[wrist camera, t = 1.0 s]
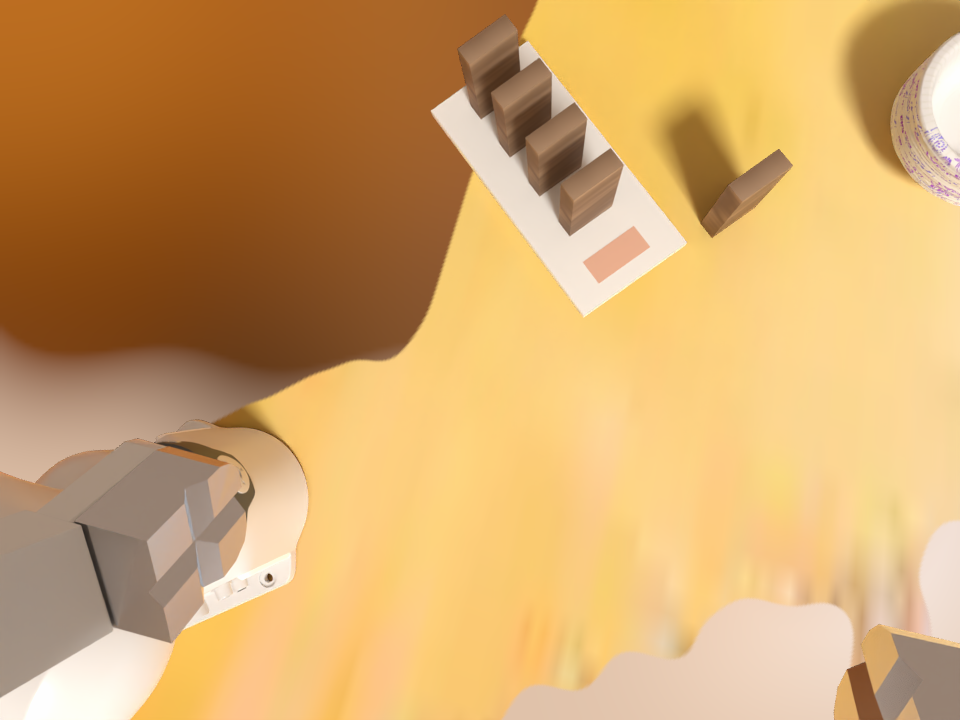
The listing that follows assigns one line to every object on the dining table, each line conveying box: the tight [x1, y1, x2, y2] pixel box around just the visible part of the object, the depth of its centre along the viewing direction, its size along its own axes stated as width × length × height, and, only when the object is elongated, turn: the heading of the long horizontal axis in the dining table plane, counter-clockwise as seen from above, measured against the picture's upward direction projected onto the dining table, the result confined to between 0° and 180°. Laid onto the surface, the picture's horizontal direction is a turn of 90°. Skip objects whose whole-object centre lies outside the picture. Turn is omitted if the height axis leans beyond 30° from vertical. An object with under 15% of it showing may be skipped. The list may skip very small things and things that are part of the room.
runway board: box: [431, 41, 687, 318], centre depth 65 cm, size 12×26×1 cm, turn 35°
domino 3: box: [525, 102, 587, 197], centre depth 59 cm, size 2×5×10 cm, turn 125°
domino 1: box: [458, 15, 520, 119], centre depth 61 cm, size 2×5×10 cm, turn 125°
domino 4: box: [559, 148, 624, 236], centre depth 59 cm, size 2×5×10 cm, turn 125°
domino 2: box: [491, 58, 552, 157], centre depth 60 cm, size 2×5×10 cm, turn 125°
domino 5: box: [701, 149, 793, 238], centre depth 58 cm, size 2×5×10 cm, turn 125°
